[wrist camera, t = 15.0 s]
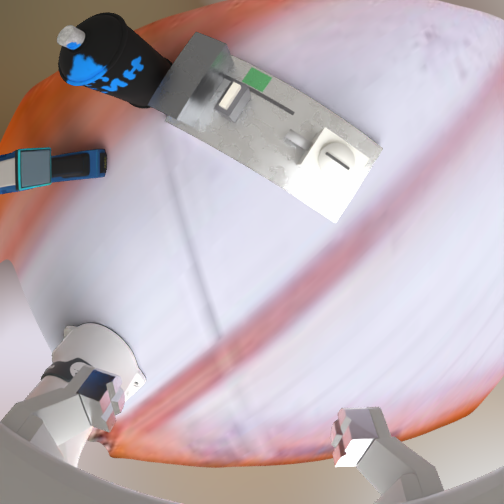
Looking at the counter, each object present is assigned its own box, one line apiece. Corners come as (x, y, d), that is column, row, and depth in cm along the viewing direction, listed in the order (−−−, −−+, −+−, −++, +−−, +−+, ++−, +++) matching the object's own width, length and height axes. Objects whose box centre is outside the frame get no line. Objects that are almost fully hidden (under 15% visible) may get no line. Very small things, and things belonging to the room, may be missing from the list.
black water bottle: (122, 67, 33) (35, 23, 14) (173, 49, 32) (106, -19, 13) (127, 115, 35) (31, 93, 16) (180, 99, 34) (105, 51, 15)
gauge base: (379, 149, 35) (406, 146, 27) (332, 221, 38) (349, 236, 30) (214, 50, 32) (201, 25, 24) (168, 122, 35) (142, 112, 27)
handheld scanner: (120, 178, 38) (23, 191, 19) (44, 185, 39) (-45, 203, 20) (120, 147, 37) (23, 141, 18) (44, 158, 38) (-46, 166, 19)
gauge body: (356, 159, 34) (371, 158, 28) (336, 191, 35) (348, 196, 30) (297, 118, 33) (302, 110, 27) (275, 151, 34) (277, 148, 29)
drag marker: (251, 96, 32) (247, 83, 26) (234, 122, 33) (227, 114, 28) (237, 89, 32) (231, 75, 26) (220, 115, 33) (211, 106, 27)
